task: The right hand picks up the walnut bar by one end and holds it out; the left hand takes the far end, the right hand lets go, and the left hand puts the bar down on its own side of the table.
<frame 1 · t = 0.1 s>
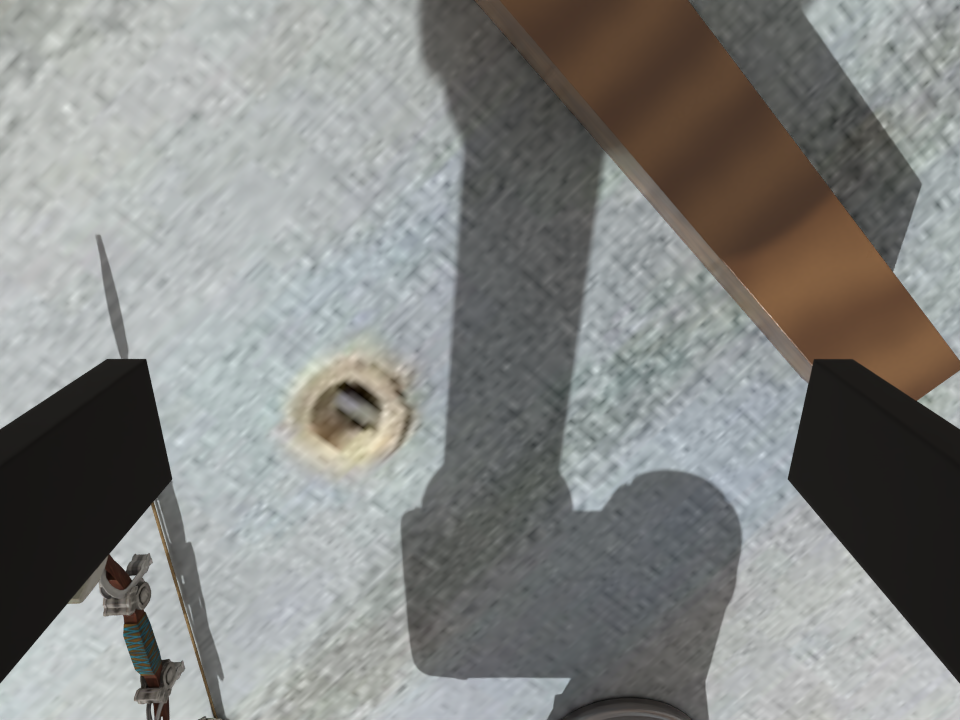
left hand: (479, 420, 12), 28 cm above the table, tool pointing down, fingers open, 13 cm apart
bar: (680, 158, 37), on the table
bow: (178, 584, 49), on the table
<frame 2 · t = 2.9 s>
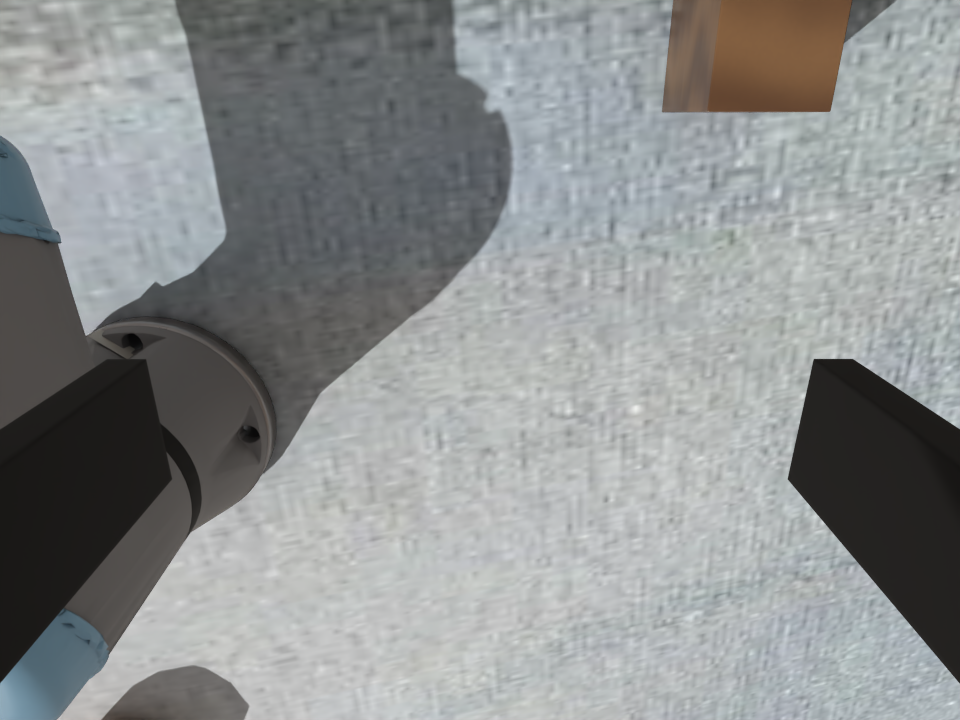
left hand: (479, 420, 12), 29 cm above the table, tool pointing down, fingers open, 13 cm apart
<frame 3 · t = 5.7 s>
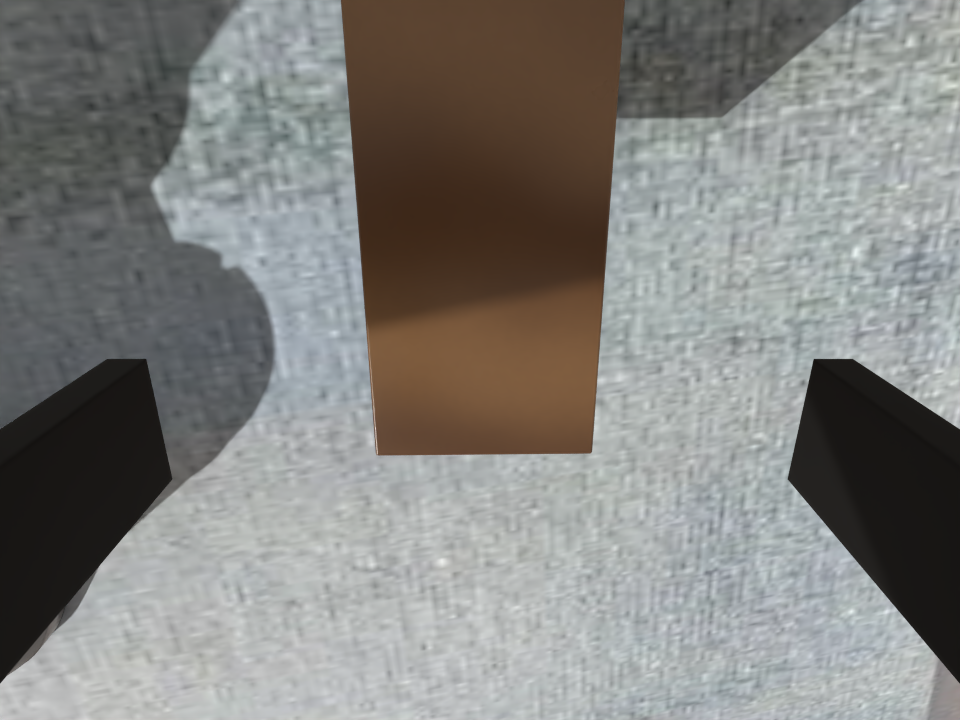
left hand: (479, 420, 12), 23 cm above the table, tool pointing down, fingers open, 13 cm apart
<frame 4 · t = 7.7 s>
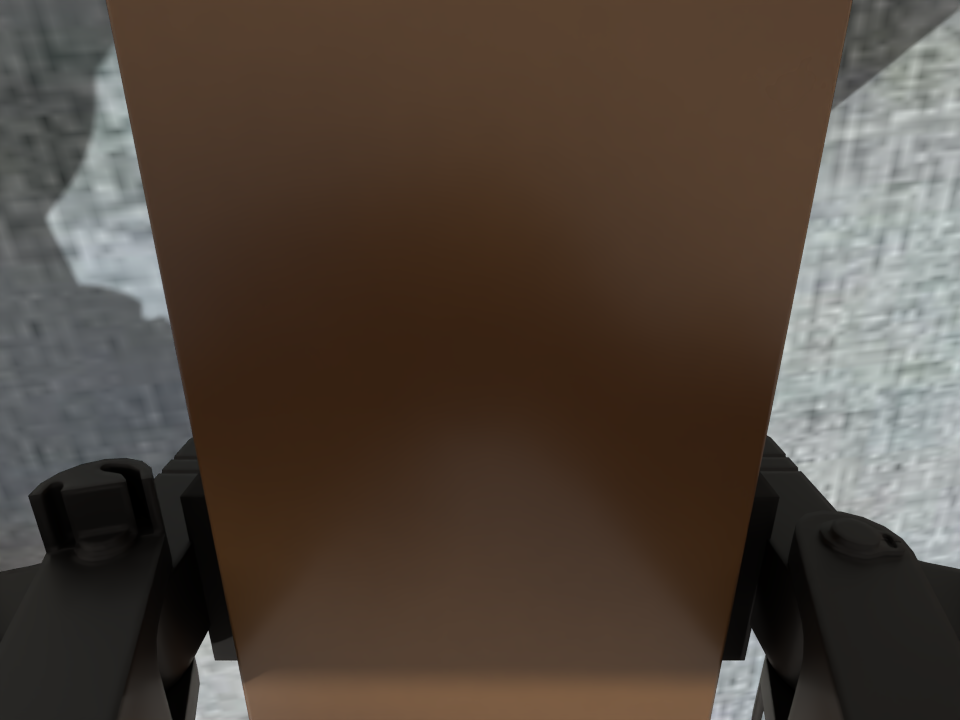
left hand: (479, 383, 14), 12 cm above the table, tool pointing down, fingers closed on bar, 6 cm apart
when the right hand's fingers open (12 cm above the table, at t = 8.4 s): bar stays where it is, held by the left hand.
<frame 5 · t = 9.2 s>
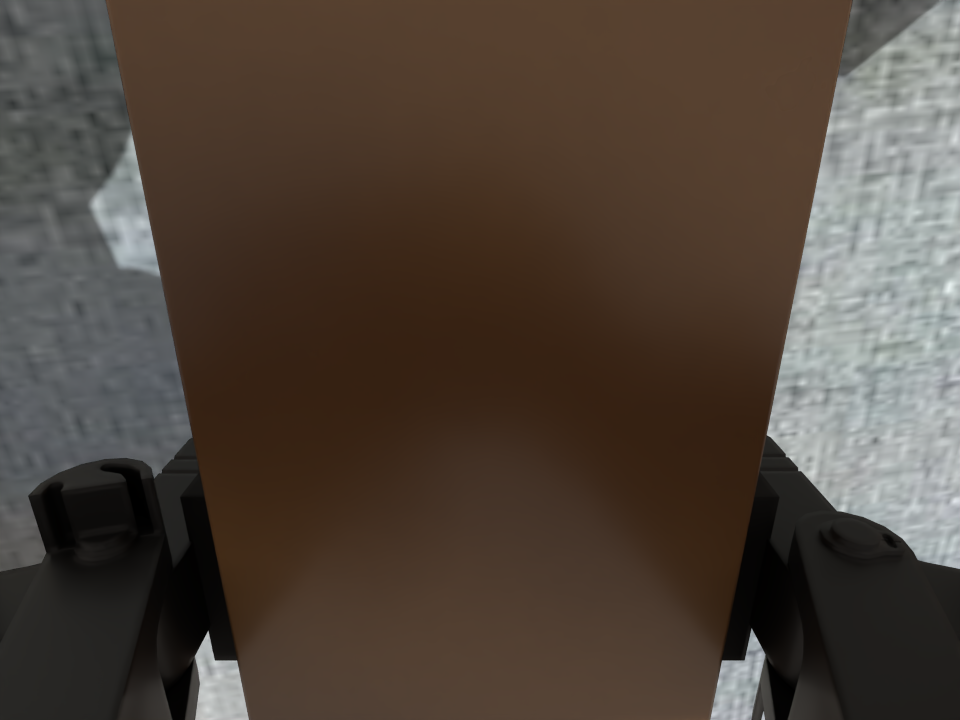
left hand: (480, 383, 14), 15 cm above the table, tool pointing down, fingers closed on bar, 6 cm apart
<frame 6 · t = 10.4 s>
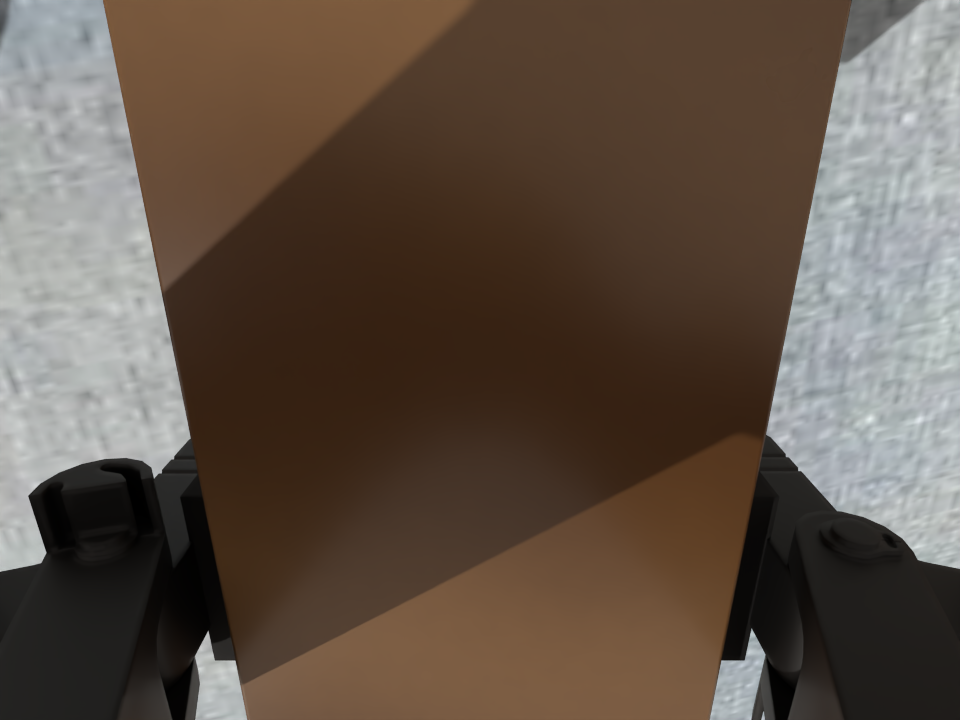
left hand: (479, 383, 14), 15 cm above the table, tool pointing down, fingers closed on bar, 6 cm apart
when the left hand's fingers open (2 cm above the table, at t = 13.4 s): bar drops 2 cm, on the table.
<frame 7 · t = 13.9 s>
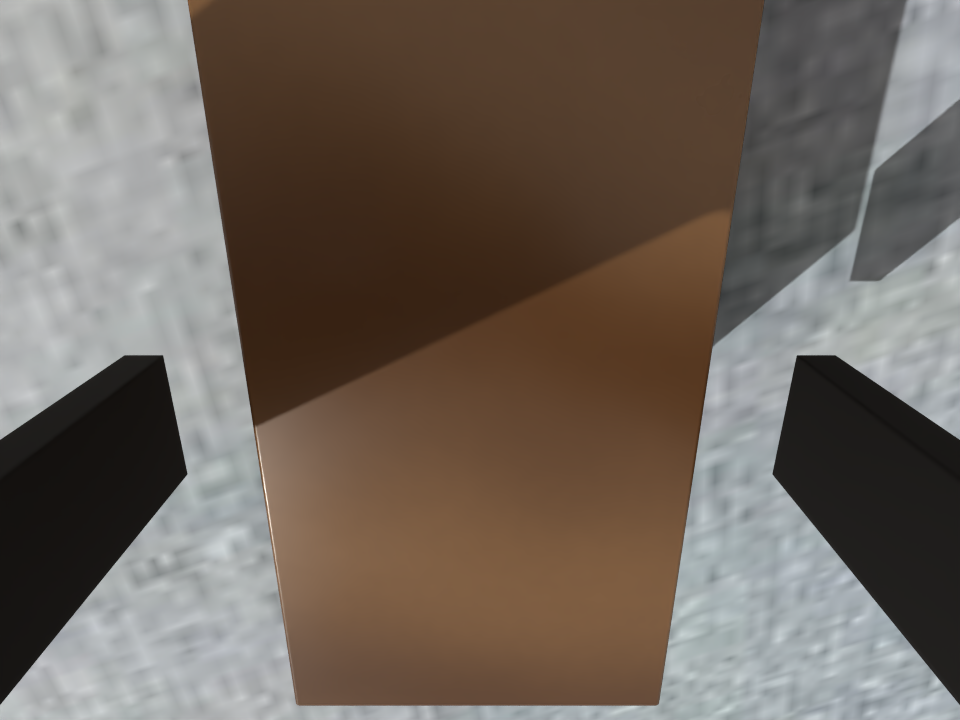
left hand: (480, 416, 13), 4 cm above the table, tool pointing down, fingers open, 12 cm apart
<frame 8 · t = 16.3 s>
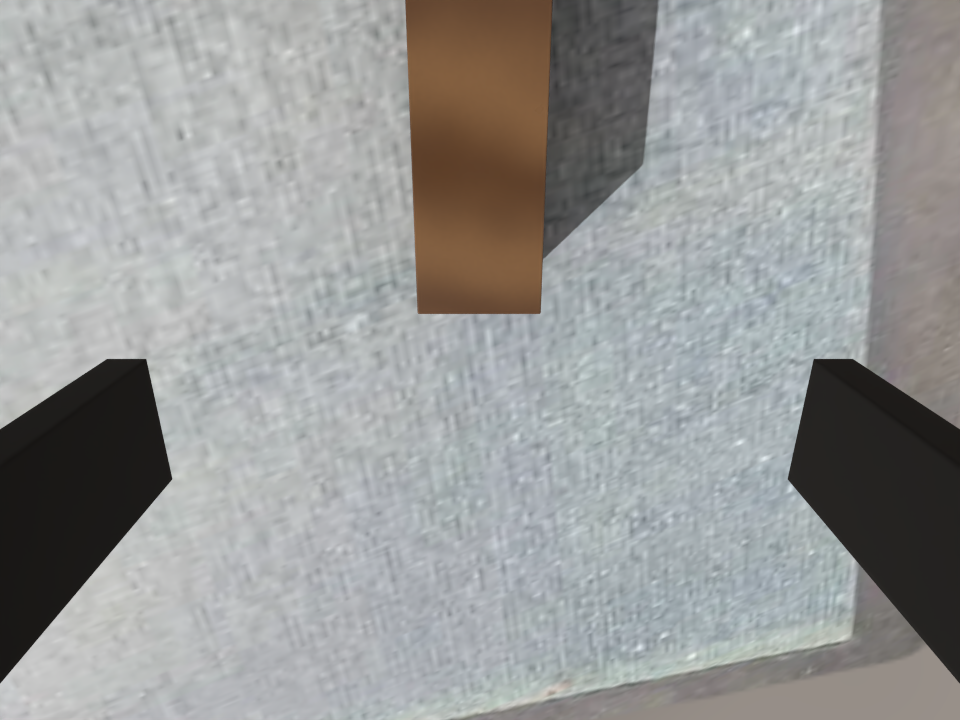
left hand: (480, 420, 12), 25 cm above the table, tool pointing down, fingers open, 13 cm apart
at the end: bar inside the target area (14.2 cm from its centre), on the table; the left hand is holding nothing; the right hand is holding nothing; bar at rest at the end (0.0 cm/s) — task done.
